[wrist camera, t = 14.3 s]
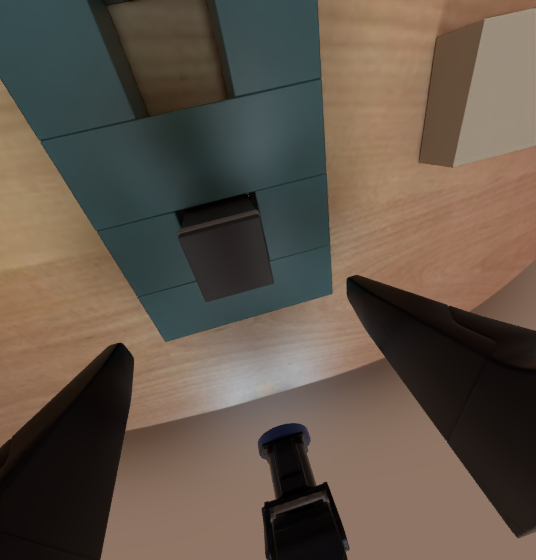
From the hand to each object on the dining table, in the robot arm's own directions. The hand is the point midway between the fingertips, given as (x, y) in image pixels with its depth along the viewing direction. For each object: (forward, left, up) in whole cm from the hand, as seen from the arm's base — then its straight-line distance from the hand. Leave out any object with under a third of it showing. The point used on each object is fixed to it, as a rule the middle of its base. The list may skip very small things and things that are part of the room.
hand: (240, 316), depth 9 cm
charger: (0, 0, -11) cm, 11 cm away
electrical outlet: (+5, -25, -11) cm, 28 cm away
